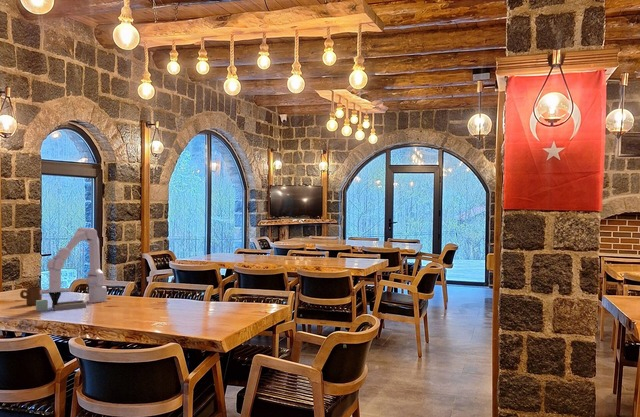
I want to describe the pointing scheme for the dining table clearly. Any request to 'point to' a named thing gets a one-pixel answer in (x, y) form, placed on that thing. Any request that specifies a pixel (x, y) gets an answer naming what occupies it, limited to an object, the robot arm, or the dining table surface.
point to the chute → (69, 305)
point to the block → (41, 305)
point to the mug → (31, 295)
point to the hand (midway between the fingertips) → (54, 306)
